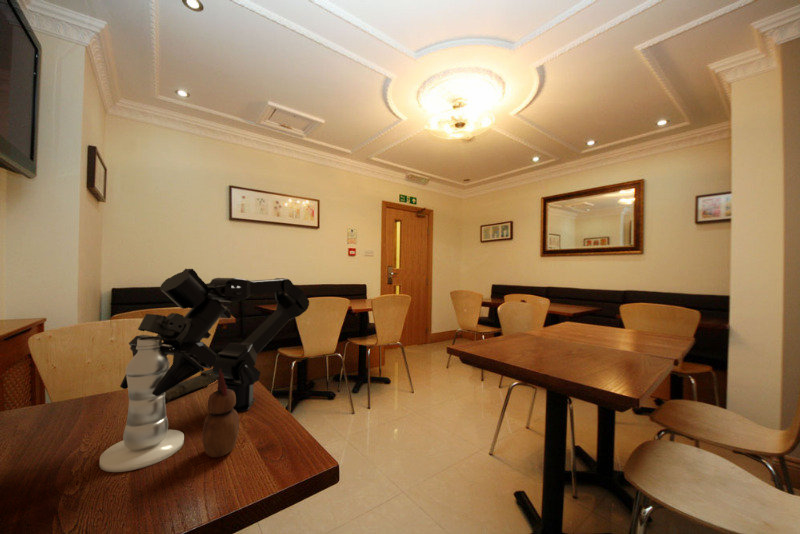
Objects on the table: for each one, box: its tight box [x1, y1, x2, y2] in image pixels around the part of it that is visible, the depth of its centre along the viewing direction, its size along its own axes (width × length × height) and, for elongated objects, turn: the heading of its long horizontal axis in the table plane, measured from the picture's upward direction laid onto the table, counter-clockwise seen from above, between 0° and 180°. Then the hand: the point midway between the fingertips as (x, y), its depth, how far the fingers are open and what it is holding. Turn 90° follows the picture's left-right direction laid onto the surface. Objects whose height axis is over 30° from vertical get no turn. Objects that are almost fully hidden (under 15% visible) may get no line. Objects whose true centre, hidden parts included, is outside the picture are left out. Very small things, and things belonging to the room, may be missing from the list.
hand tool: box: [165, 368, 217, 403], centre depth 86 cm, size 19×4×5 cm, turn 161°
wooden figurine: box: [202, 369, 240, 458], centre depth 57 cm, size 7×6×15 cm
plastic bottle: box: [122, 335, 171, 450], centre depth 57 cm, size 6×7×20 cm
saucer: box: [99, 428, 185, 473], centre depth 57 cm, size 12×12×1 cm
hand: (138, 391), depth 56 cm, fingers open, 9 cm apart
